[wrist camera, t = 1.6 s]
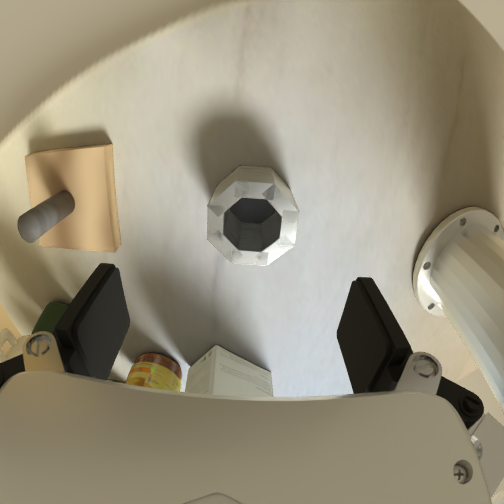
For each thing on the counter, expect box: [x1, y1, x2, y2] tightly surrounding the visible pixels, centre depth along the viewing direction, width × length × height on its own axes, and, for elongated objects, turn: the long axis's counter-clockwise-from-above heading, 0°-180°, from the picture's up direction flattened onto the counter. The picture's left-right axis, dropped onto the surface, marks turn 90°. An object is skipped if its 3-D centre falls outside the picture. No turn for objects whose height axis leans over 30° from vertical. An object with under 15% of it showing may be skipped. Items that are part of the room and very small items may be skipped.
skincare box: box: [185, 345, 273, 397], centre depth 25 cm, size 8×6×15 cm
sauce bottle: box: [125, 353, 182, 392], centre depth 23 cm, size 6×6×20 cm
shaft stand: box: [18, 144, 121, 252], centre depth 19 cm, size 9×9×7 cm
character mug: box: [0, 302, 69, 363], centre depth 24 cm, size 11×7×13 cm, turn 22°
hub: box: [207, 165, 299, 266], centre depth 20 cm, size 6×6×5 cm
